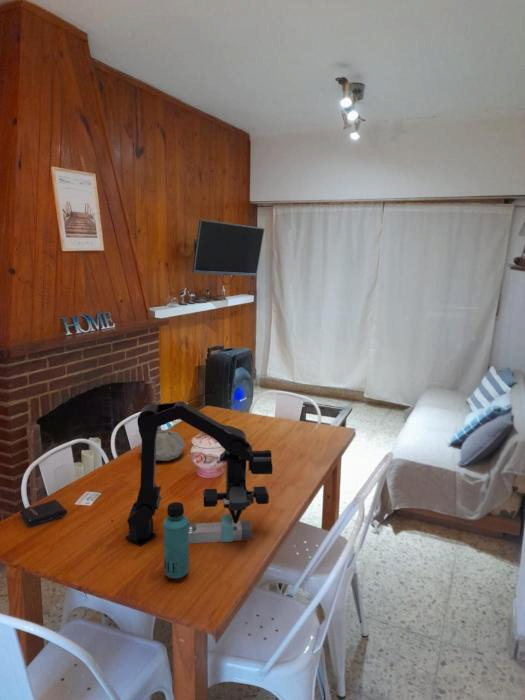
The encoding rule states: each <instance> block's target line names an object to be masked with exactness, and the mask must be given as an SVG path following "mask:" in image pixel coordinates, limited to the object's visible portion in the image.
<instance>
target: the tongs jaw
mask: <svg viewBox="0 0 525 700" xmlns="http://www.w3.org/2000/svg"><path fill="white" fill-rule="evenodd" d="M232 523H233V526H236V525H251V526H252V523H251V520H238V522H237V523H235V524H234V521H233V520H232ZM194 524H195V525H196V528H204V527H220V526H222V525H221V521H217V522H201V523H194Z"/></svg>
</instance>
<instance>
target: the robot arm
mask: <svg viewBox="0 0 525 700" xmlns="http://www.w3.org/2000/svg"><path fill="white" fill-rule="evenodd" d="M178 420H181V421H182V422H184V423H185V424H187V425H188V426H191V427H193V429H196V430H198V431H200V432H201V433H203V434H206V435H207V436H208V437H210V438H212V439H214V440H215V441H216V442H217V443H218V444H219V445H220V446H221V447H222V448H223V449H224V451H223V452H222V453H221V454H219V462H226V465H225V467H226V468H225V469H226V470H225V471H226V472H225V473H226V474H225V475H226V477H225V478H226V479H225V480H226V481H225V492H218V489H217V488H205V489H204V490H203V491H202V492H203V493H202V495H203V496H202V498H203V499H202V500H203V501H202V502H203V507H205V508H211V507H212V508H213V507H216V506H217V505H218V503H219V502H218V501H222V503H223V508H225V509H228V511H229V514H231V516H232V522H233V521H234V524H235V523H237V522H238V521H239V518H240V516H241V514H242V512H243V511H245V510H247V508H249V506H251V505H253V504H254V501H255V503H256V504H257V505H268V504H269V502H270V501H269V500H270V496H269V491H268V488H267V487H266V486H262V485H261V486H253V487H252V490H249V489H247V468H248V472H250V474H252V475H273V461H272V460H273V459H272V450H271V449H267V450H253V447H252V445H251V444H250V443H249V442H248V439H247V436H246V432H244V431H243V430H242V429H240V428H237V427H234V426H232V425H225V424H223V423H220V422H218V421H216V420H214V419H213V418H211V417H210V416H209V415H208V416H207V415H205V414H204V413H202V412H200V411H199V410H197V409H195V408H193V407H191V406H190V405H188V404H187V403H186V402H185V401H181V400H179V401H175V402H168V403H167V402H164V403H159V404H154V403H150V404H149V403H148V404H146V405H145V406H144V407H143V408H142V409H141V411H140V413H139V415H138V417H137V428H138V433H139V436H140V439H141V442H142V452H141V451H140V453H141V454H140V455H141V456H140V457H141V460H140V487H139V490H138V495H137V497H136V501H135V502H133V504H132V506H131V508H130V512H129V515H128V517H127V519H126V520H127V523H128V535H126V536H125V538H124V539H125V540H126V541H128V542H131V543H133V544H135V545H137V546H139V547H141V546H144V545H145V544H146V543H148V542H149V541H150V540H152V539H153V538H155V537H157V535H158V534H157V533H156V532H154V518H153V516H155V514H156V510H159V508H160V503H161V500H162V497H161V490H162V485H161V486H159V485H158V486H157V484H156V466H157V465H156V462H157V461H156V437H157V433H158V430H159V429H160V426H164V425H167V424H169V423H171V422H173V421H178ZM247 463H248V467H247Z"/></svg>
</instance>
